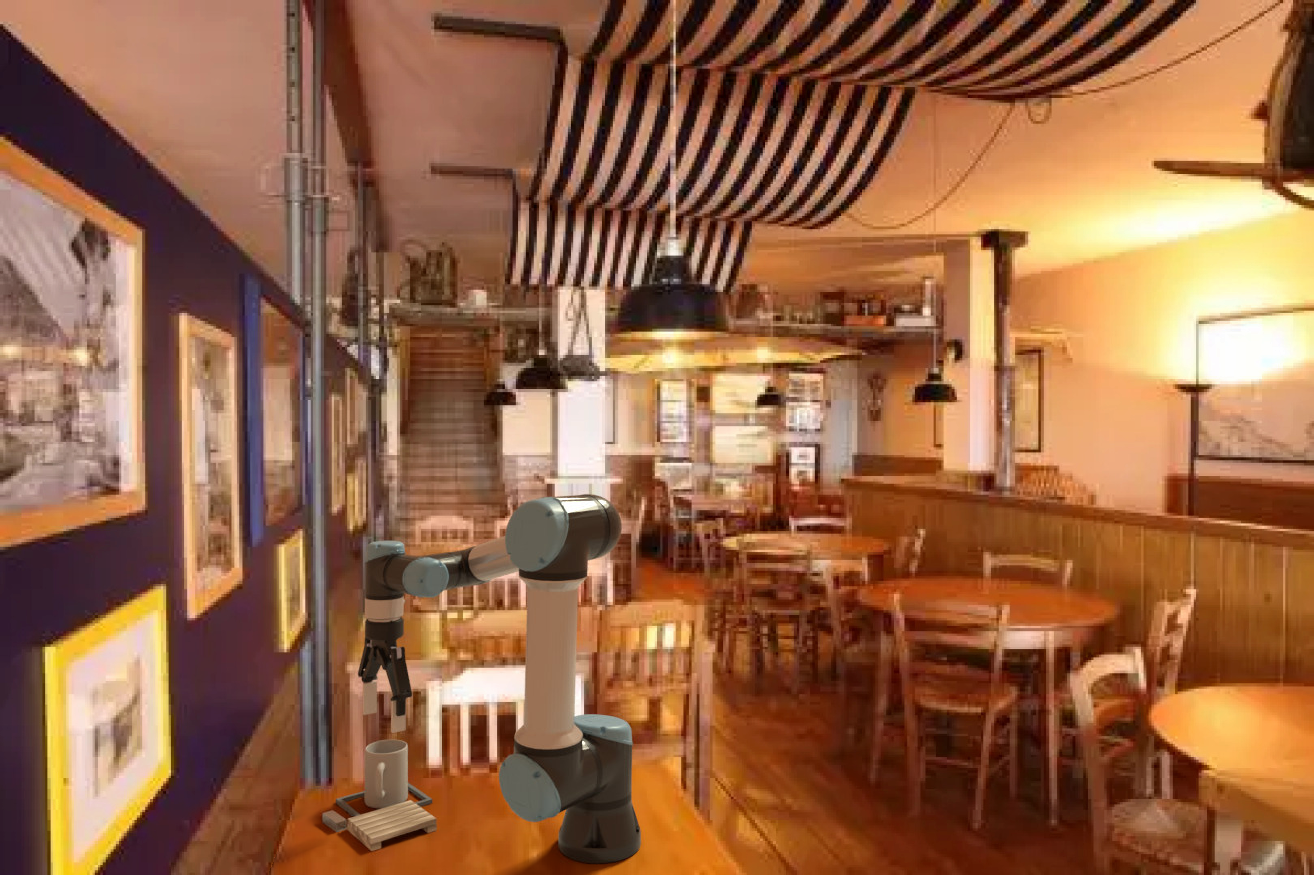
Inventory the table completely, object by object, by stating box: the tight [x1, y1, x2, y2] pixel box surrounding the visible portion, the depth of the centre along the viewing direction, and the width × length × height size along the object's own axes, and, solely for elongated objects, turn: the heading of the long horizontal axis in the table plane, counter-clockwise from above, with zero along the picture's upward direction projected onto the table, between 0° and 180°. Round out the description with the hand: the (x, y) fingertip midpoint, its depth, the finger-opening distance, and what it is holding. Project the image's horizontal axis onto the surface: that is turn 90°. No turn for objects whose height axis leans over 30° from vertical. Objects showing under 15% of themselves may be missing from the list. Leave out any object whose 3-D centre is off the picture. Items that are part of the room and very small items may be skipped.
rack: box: [346, 799, 438, 852], centre depth 168 cm, size 11×13×2 cm
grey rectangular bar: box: [322, 809, 348, 833], centre depth 170 cm, size 6×2×2 cm, turn 45°
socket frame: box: [335, 782, 433, 817], centre depth 180 cm, size 13×15×1 cm
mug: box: [363, 739, 409, 809], centre depth 180 cm, size 12×8×11 cm
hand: (383, 722), depth 180 cm, fingers open, 13 cm apart
